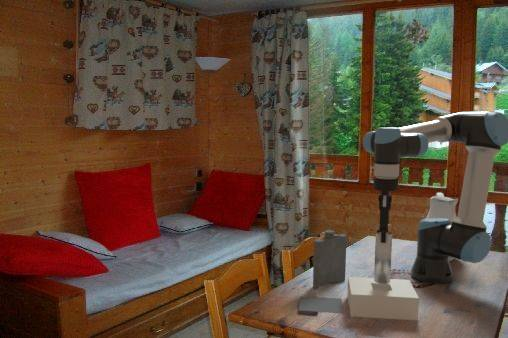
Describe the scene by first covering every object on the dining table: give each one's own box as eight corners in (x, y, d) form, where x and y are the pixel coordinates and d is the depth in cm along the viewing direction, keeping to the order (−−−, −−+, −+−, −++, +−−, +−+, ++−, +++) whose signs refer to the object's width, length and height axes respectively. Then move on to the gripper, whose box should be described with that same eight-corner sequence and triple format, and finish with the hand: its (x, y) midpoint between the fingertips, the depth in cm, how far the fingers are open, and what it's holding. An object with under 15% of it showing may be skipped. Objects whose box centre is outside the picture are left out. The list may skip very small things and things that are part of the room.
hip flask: (317, 289, 173) (318, 235, 170) (309, 286, 176) (310, 233, 173) (346, 280, 182) (348, 228, 180) (338, 277, 186) (340, 226, 183)
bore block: (407, 302, 161) (409, 279, 160) (417, 323, 145) (419, 298, 144) (347, 299, 164) (348, 276, 163) (350, 319, 148) (351, 294, 147)
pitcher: (462, 265, 201) (466, 200, 198) (420, 261, 206) (423, 197, 203) (455, 250, 224) (459, 191, 221) (417, 247, 229) (420, 189, 226)
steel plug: (390, 279, 155) (392, 224, 153) (390, 284, 150) (392, 227, 148) (374, 277, 157) (376, 222, 154) (373, 282, 152) (375, 226, 150)
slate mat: (341, 301, 162) (341, 298, 162) (343, 316, 150) (343, 313, 150) (300, 299, 164) (300, 296, 164) (298, 313, 152) (298, 310, 152)
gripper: (375, 173, 159) (372, 241, 162) (371, 180, 142) (369, 256, 145) (399, 174, 157) (396, 243, 160) (398, 181, 140) (395, 259, 143)
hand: (383, 249), depth 152 cm, fingers closed on steel plug, 5 cm apart
